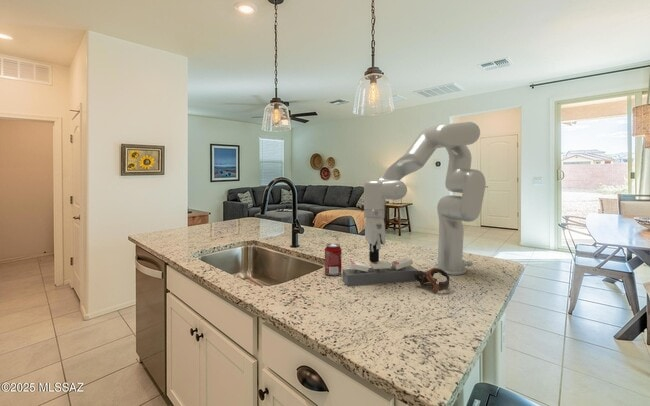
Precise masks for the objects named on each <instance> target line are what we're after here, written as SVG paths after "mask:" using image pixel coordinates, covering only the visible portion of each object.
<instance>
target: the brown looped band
mask: <svg viewBox="0 0 650 406" xmlns="http://www.w3.org/2000/svg"><path fill="white" fill-rule="evenodd" d="M438 273H440V274H441V276H443V277H445V279H446V280H445V281H439V282H438V283H437V281H438V279H437V278H435V277H434V275H435V274H438ZM418 276H421V277H418ZM414 277H415V279H416V280H417V281H416V282H418V283H419V285H420V286H423V285H424V284H427V283H430V284H431V285H432V286H433V288H432V289H431V292H432V293H434V294H438V293H439V292H441V291H443V290H446V289H448V288H449V286H450V280H451V279H450V275H449V274H447V273H446V272H445V271H443V270H441V269H438V268H434V267H432V268H430V269H428V270H427V271H422V270H418V271H416V272H415V273H414Z"/></svg>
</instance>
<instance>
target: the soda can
mask: <svg viewBox="0 0 650 406" xmlns="http://www.w3.org/2000/svg"><path fill="white" fill-rule="evenodd" d="M324 272H325V274H327V275H329V276H333V277H334V276H339V275H340V274H341V273H342V248H341V245H340V243H336V242H335V243H333V242H332V243H327V244H326V247H325V248H324Z"/></svg>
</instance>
